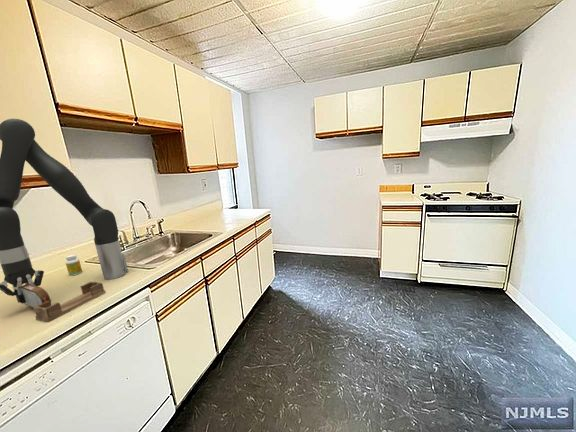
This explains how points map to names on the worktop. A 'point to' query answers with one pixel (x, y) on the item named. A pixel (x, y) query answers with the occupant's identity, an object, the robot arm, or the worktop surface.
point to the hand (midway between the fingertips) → (28, 300)
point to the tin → (34, 295)
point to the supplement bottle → (73, 265)
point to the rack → (68, 302)
